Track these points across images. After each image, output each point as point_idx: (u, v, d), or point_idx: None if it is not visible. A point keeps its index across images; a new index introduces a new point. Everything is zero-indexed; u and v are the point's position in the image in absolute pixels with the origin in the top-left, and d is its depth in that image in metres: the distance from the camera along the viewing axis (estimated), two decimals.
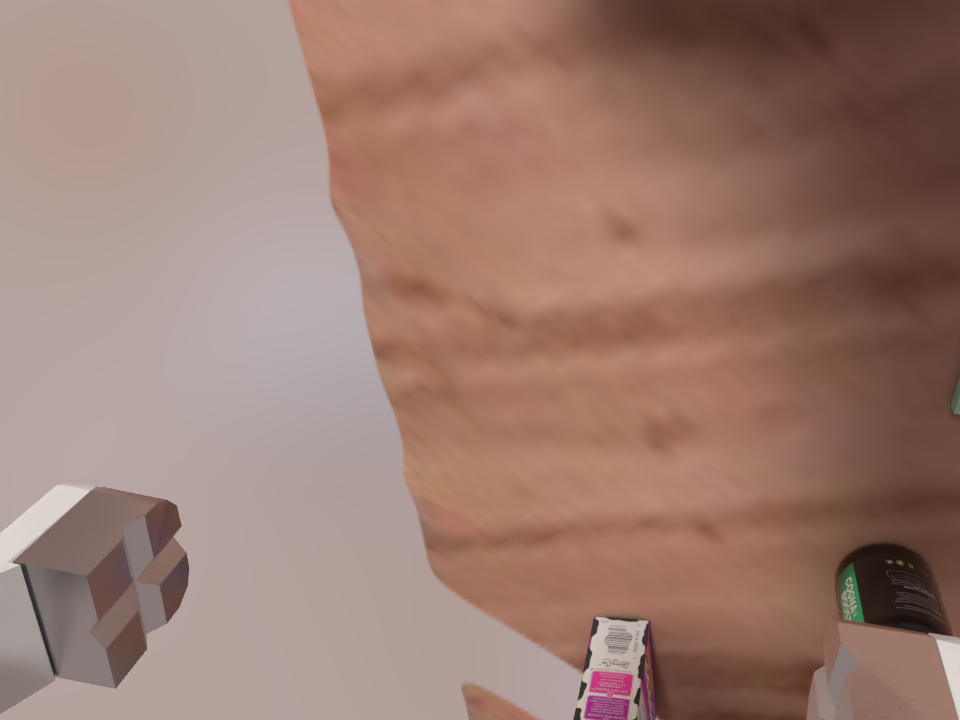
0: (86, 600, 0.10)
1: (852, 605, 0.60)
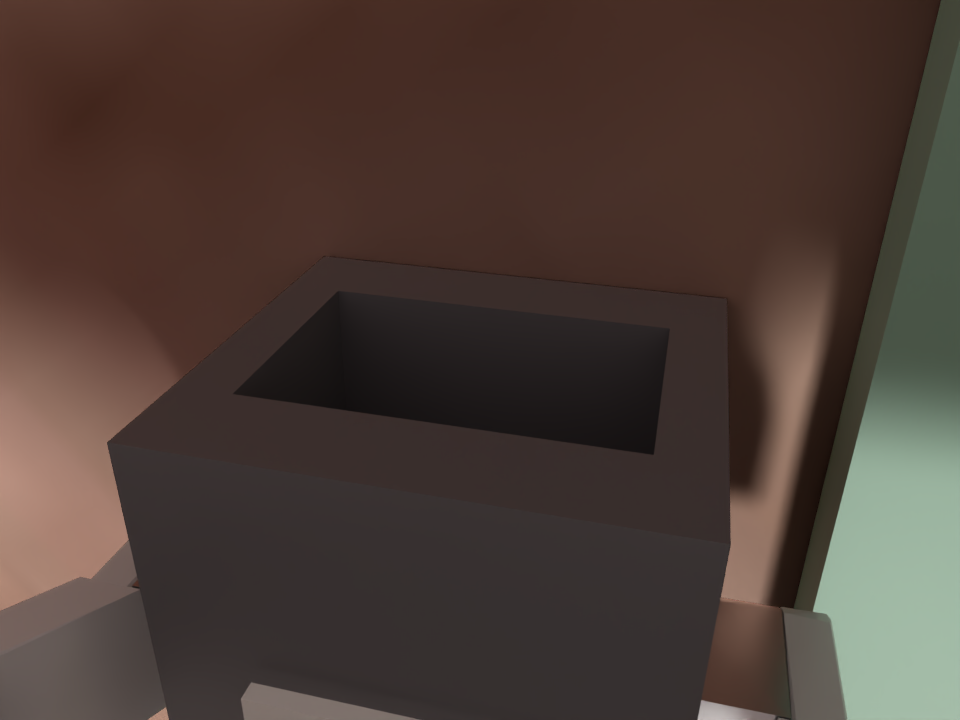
0: None
1: None
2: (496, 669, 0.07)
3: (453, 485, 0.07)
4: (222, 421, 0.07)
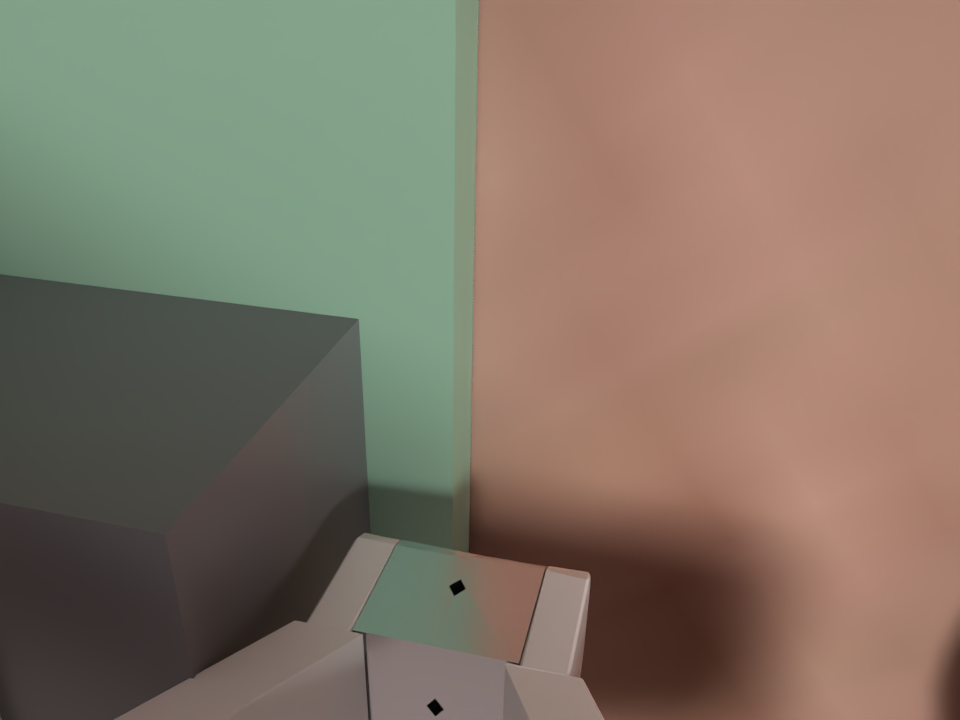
0: (431, 672, 0.09)
1: None
2: None
3: None
4: None
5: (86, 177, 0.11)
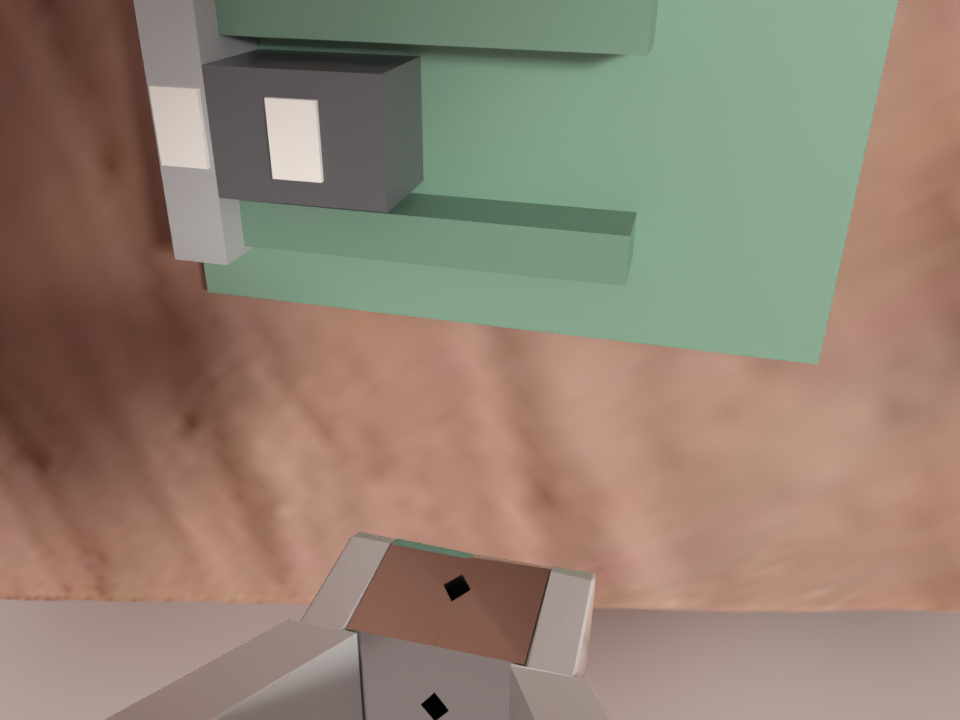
0: (425, 671, 0.09)
1: None
2: (248, 113, 0.32)
3: (211, 121, 0.33)
4: None
5: (741, 22, 0.31)
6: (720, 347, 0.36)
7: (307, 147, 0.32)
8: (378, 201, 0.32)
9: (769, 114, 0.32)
